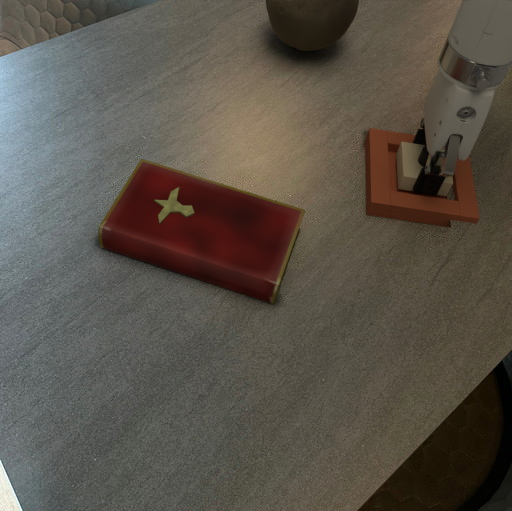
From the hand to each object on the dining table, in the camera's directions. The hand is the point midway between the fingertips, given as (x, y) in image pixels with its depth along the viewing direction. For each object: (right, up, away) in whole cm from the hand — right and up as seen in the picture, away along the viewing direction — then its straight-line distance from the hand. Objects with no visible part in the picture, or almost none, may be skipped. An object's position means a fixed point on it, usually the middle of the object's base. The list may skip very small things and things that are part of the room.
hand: (422, 171), depth 83 cm
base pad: (0, -1, +2) cm, 2 cm away
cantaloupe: (-15, +22, +18) cm, 32 cm away
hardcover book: (-29, -10, -8) cm, 31 cm away
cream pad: (0, 0, +1) cm, 1 cm away
